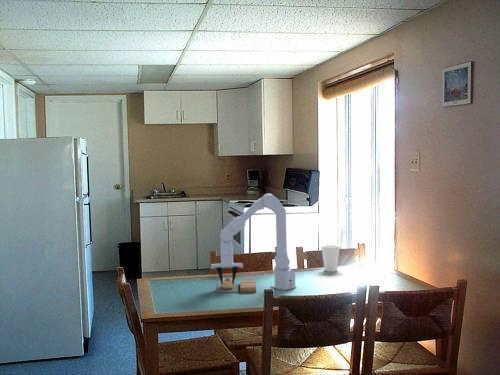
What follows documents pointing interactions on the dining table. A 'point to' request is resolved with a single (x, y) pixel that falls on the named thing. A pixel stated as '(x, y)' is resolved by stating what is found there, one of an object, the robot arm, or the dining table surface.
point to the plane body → (247, 286)
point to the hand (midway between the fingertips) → (227, 283)
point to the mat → (230, 290)
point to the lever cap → (227, 283)
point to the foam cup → (330, 256)
